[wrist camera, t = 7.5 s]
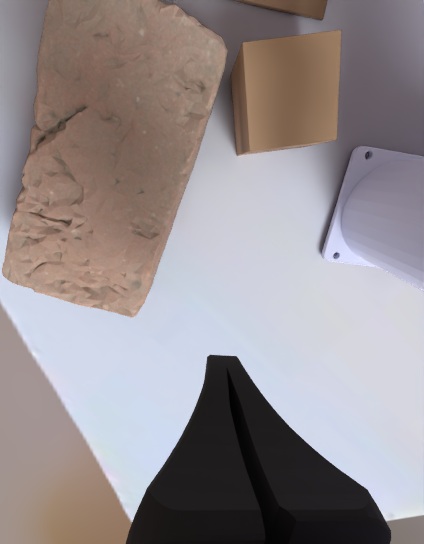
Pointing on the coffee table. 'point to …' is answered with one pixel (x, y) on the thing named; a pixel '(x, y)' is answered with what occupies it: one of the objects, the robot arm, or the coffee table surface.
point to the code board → (293, 6)
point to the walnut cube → (286, 92)
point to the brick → (110, 147)
